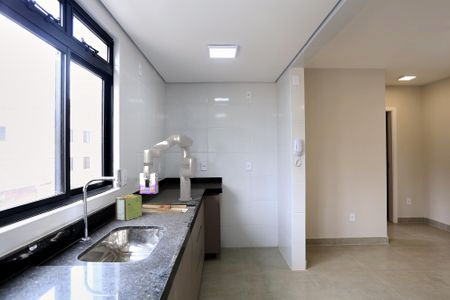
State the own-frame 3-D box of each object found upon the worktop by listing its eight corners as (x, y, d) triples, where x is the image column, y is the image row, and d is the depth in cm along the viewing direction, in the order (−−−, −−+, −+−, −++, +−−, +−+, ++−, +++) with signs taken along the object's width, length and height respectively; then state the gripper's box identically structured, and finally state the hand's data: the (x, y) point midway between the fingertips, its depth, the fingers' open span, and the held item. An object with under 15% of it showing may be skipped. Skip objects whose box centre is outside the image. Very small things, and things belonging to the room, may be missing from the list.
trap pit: (162, 208, 214) (162, 204, 214) (170, 208, 213) (170, 205, 213) (157, 211, 203) (157, 208, 203) (165, 212, 202) (165, 208, 202)
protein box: (142, 215, 192) (141, 195, 192) (126, 221, 178) (125, 199, 178) (131, 214, 197) (131, 194, 197) (115, 219, 183) (115, 197, 183)
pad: (171, 208, 213) (171, 208, 213) (188, 209, 211) (188, 208, 211) (166, 212, 202) (166, 211, 202) (185, 212, 201) (185, 212, 201)
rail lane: (143, 207, 218) (143, 204, 218) (186, 208, 214) (186, 205, 214) (134, 211, 203) (134, 208, 203) (181, 213, 199) (181, 209, 199)
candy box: (158, 192, 212) (158, 172, 212) (155, 193, 206) (155, 173, 206) (142, 192, 213) (142, 172, 213) (139, 193, 208) (139, 173, 207)
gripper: (148, 163, 218) (148, 184, 219) (139, 165, 201) (139, 188, 202) (157, 163, 217) (157, 184, 218) (148, 165, 200) (148, 188, 201)
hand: (148, 186), depth 210 cm, fingers closed on candy box, 5 cm apart
